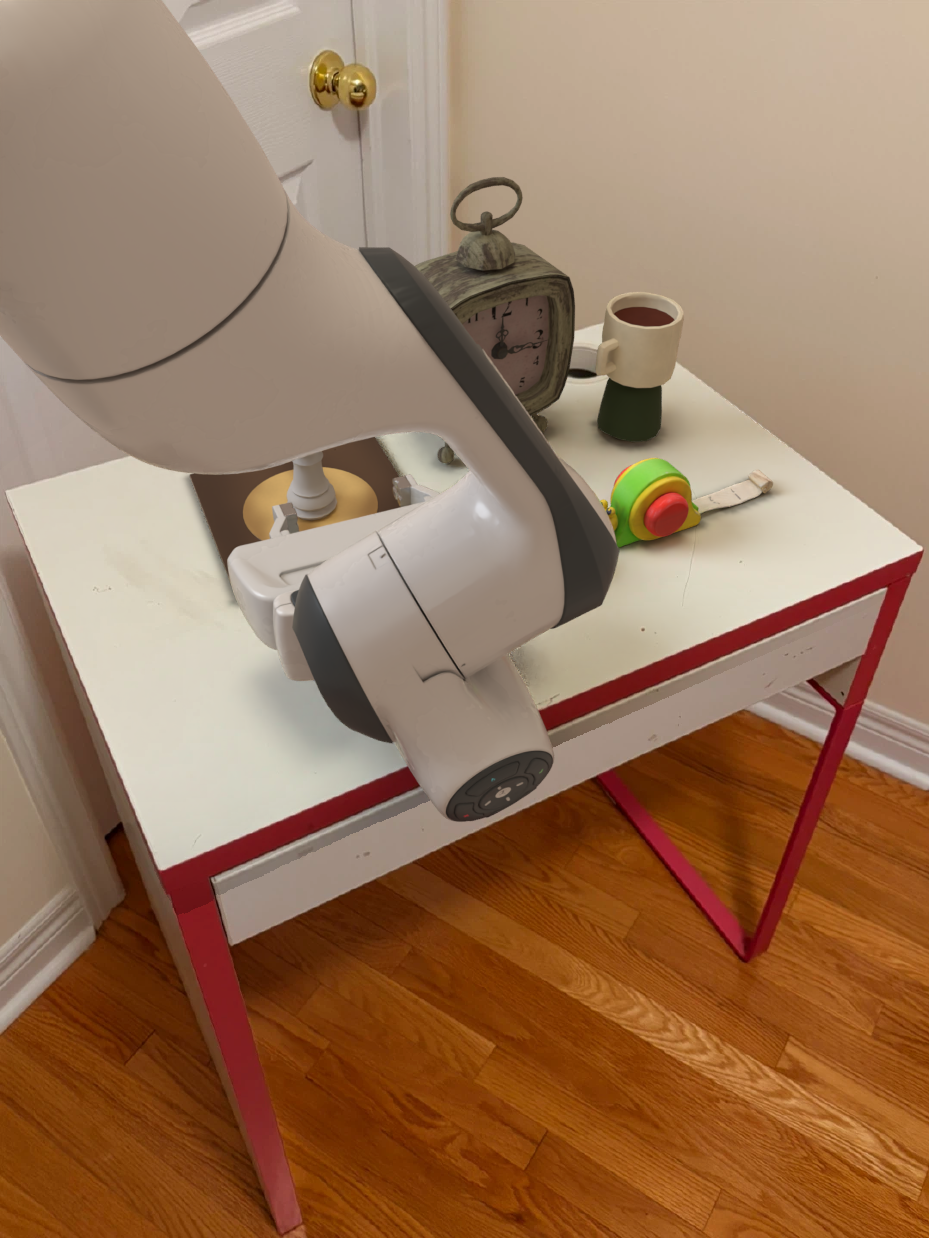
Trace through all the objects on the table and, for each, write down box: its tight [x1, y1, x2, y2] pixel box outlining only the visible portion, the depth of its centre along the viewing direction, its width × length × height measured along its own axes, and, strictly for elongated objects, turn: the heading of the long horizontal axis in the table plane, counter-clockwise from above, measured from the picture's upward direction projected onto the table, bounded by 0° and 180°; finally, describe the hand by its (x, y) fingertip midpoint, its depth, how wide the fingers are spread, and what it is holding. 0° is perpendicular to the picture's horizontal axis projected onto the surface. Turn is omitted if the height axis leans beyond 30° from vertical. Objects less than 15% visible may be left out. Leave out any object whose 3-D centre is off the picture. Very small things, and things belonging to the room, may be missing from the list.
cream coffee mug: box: [594, 291, 685, 443], centre depth 100 cm, size 11×7×13 cm, turn 128°
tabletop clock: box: [414, 176, 576, 465], centre depth 95 cm, size 14×9×25 cm, turn 120°
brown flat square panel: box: [189, 437, 400, 585], centre depth 94 cm, size 18×18×1 cm
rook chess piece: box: [287, 451, 337, 520], centre depth 91 cm, size 4×4×8 cm
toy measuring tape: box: [599, 457, 774, 548], centre depth 92 cm, size 6×20×7 cm, turn 117°
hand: (342, 496), depth 79 cm, fingers open, 8 cm apart
